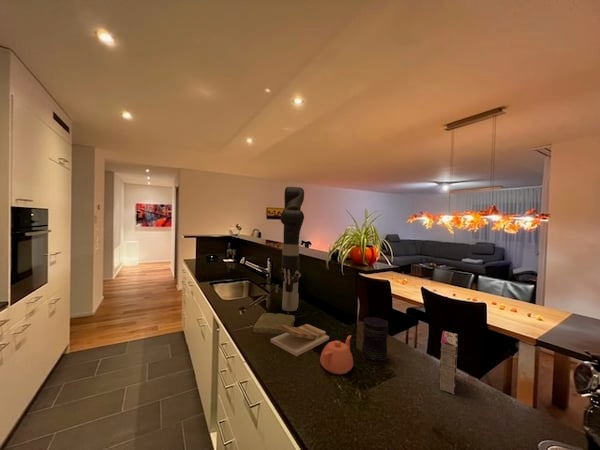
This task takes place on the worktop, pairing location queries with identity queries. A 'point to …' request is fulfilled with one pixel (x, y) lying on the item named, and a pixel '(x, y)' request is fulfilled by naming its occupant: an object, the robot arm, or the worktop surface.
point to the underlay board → (297, 343)
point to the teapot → (337, 357)
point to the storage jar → (375, 340)
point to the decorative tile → (273, 323)
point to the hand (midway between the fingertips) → (288, 291)
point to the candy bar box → (448, 362)
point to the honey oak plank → (295, 331)
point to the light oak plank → (313, 330)
